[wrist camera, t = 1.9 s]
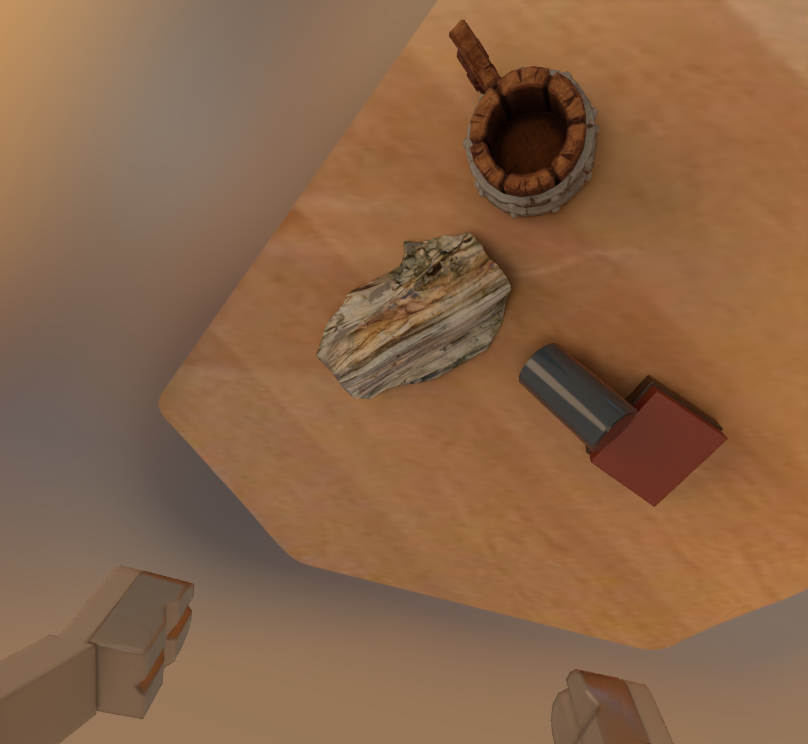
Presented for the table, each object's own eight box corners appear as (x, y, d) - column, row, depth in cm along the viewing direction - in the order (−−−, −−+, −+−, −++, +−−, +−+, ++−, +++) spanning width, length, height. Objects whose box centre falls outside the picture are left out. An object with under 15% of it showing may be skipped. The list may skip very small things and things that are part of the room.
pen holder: (567, 345, 50) (645, 409, 44) (534, 385, 52) (606, 451, 46) (543, 339, 46) (627, 409, 40) (509, 383, 48) (584, 454, 42)
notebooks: (716, 420, 47) (732, 438, 43) (646, 487, 51) (654, 509, 47) (648, 374, 48) (657, 388, 44) (584, 443, 52) (587, 462, 48)
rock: (528, 320, 53) (462, 204, 51) (538, 333, 47) (462, 200, 44) (363, 414, 59) (295, 314, 56) (351, 437, 52) (273, 325, 50)
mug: (519, 251, 49) (485, 226, 35) (447, 142, 50) (388, 79, 37) (626, 174, 44) (634, 111, 30) (543, 57, 46) (515, -52, 32)
